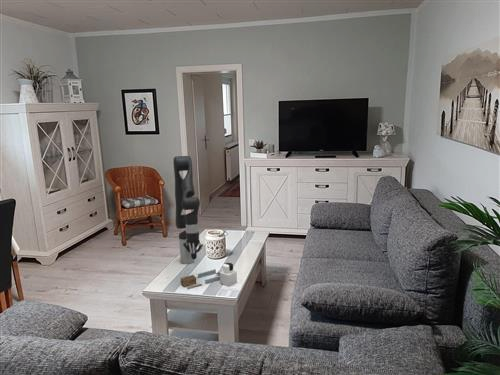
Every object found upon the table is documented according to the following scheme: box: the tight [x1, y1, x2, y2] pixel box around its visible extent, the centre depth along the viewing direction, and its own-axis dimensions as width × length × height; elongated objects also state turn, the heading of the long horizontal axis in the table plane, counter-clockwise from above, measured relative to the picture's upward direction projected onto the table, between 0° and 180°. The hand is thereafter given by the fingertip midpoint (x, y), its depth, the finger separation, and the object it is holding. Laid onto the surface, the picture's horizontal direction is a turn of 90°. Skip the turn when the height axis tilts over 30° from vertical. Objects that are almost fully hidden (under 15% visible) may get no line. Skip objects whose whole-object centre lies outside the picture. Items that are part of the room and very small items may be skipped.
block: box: [180, 274, 198, 289], centre depth 226 cm, size 4×8×4 cm, turn 122°
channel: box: [197, 268, 220, 285], centre depth 233 cm, size 12×12×2 cm
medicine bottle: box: [219, 262, 238, 287], centre depth 225 cm, size 7×7×12 cm
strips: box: [186, 283, 203, 290], centre depth 227 cm, size 11×9×1 cm
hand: (194, 258), depth 225 cm, fingers closed
